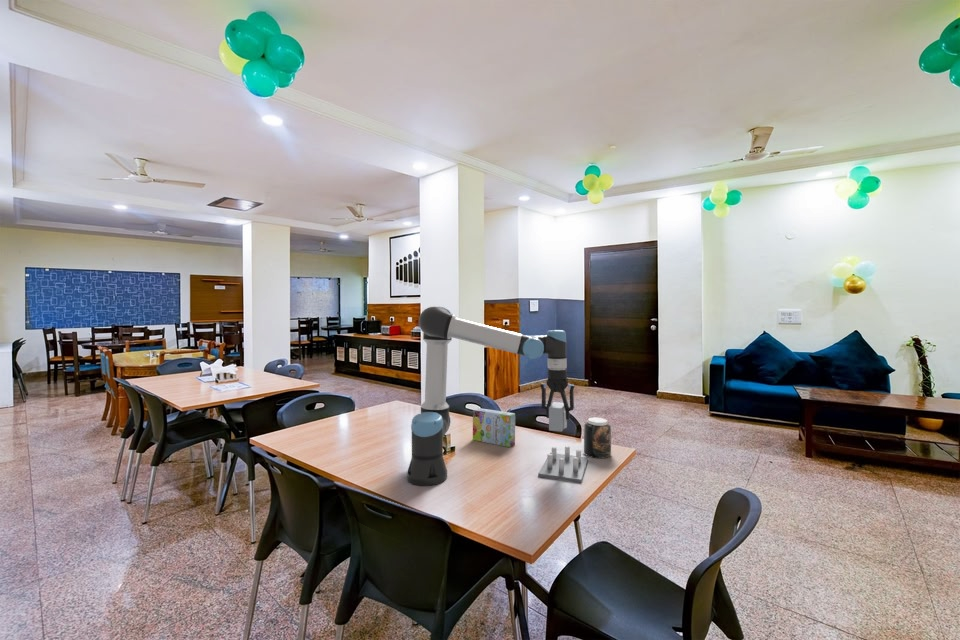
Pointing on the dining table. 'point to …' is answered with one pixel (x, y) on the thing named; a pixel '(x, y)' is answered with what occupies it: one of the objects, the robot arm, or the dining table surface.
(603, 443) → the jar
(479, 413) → the snack box
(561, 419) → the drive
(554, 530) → the dining table surface
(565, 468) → the grey peg board
